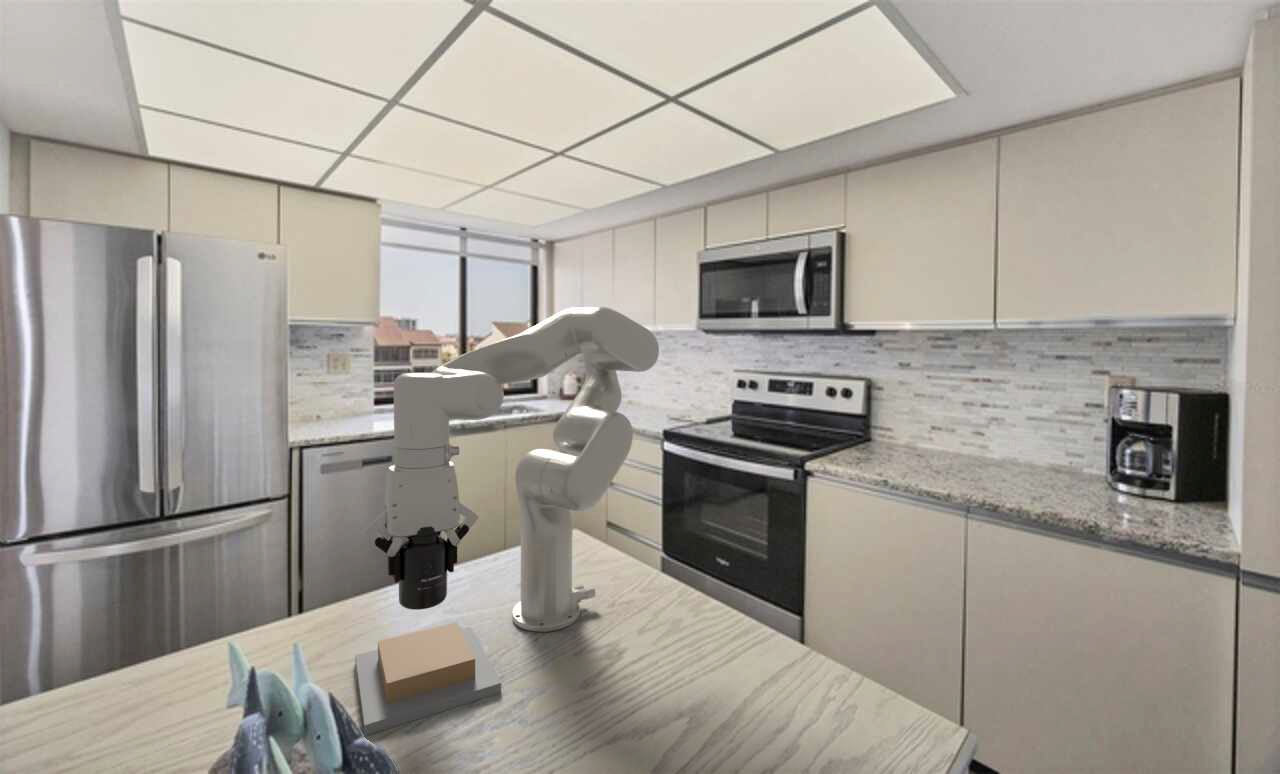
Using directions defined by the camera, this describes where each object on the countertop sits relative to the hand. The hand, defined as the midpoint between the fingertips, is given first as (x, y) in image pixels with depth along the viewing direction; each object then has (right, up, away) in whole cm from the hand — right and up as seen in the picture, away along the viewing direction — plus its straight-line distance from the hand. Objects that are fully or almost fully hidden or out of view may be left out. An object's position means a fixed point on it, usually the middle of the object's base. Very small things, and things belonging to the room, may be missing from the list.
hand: (423, 572), depth 82 cm
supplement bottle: (0, -4, 0) cm, 4 cm away
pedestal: (0, -17, +2) cm, 17 cm away
